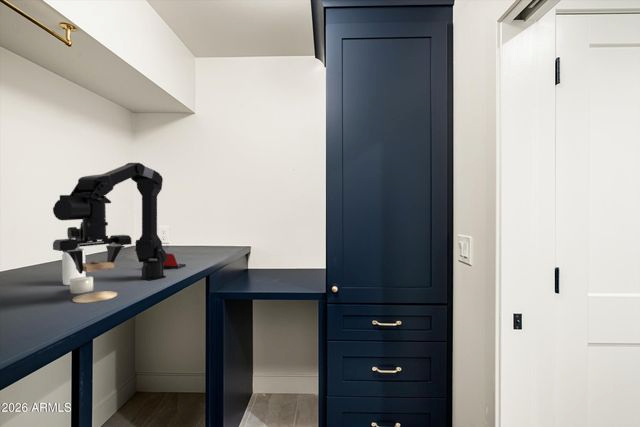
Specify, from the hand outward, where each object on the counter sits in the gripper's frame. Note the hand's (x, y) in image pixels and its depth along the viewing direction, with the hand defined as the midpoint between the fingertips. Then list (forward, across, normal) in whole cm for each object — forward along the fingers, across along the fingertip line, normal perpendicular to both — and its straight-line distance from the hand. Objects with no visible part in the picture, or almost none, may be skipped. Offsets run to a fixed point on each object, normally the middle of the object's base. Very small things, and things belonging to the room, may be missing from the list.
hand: (95, 271), depth 98 cm
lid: (-1, 0, 0) cm, 1 cm away
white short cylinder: (+8, -1, -12) cm, 14 cm away
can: (+8, -4, -26) cm, 27 cm away
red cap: (+8, -38, -26) cm, 47 cm away
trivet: (+8, 0, 0) cm, 8 cm away
